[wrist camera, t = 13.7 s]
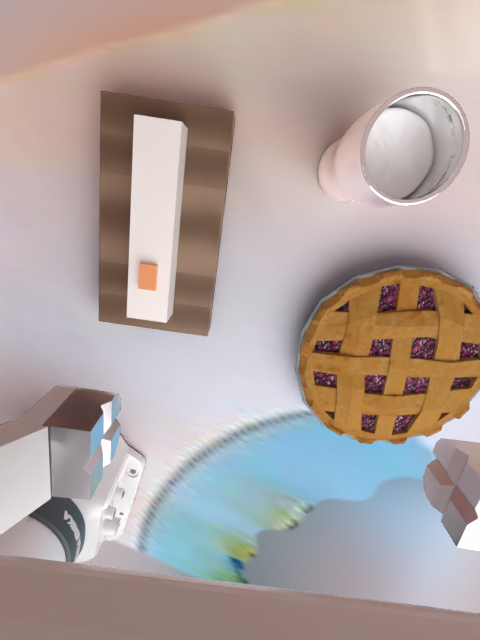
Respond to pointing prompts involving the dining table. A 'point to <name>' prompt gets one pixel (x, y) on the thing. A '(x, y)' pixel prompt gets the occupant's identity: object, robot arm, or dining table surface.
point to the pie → (391, 354)
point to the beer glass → (398, 151)
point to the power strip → (155, 216)
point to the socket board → (196, 210)
